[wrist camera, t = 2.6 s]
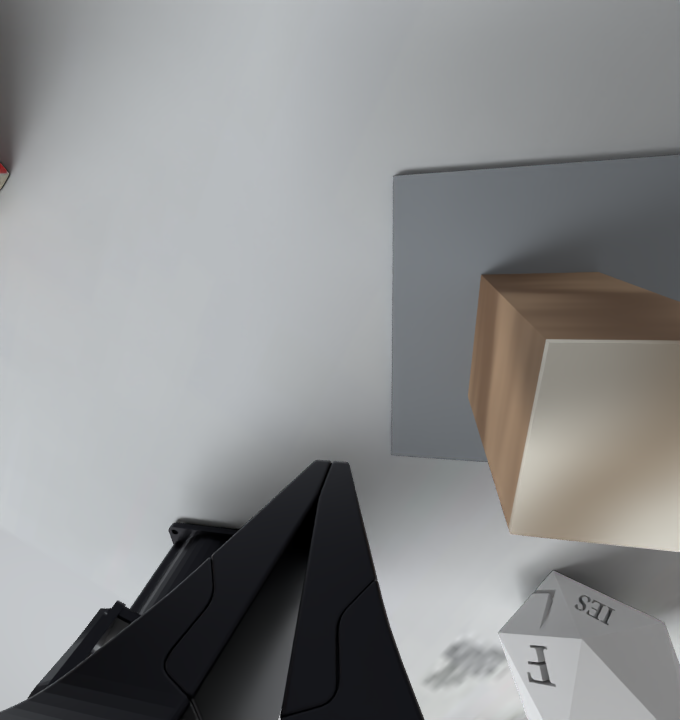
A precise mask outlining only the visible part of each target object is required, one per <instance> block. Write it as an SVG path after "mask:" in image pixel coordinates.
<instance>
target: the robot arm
mask: <svg viewBox="0 0 680 720" xmlns="http://www.w3.org/2000/svg"><path fill="white" fill-rule="evenodd" d="M169 533H170V536H171V539H172V541H173V544H174V545H173V546H172V548H171V549H170V551H169V552H168V554H167V555H166V557H165V558H164V560H163V561H162V563H161V564H160V565H159V567H158V568H157V570H156V571H155V573H154V574H153V576H152V577H151V579H150V580H149V582H148V583H147V584H146V586H145V587H144V589H143V590H142V592H141V593H140V595H139V596H138V598H137V599H136V601H135V602H134V604H133V605H132V606H131V608H130V609H129V608H127V607H125V604H124V603H122V602H120V601H117V602H116V603H115V604H114V606H113V607H112V608H110V609H100V610H99V611H98V613H97V614H96V615H95V617H94V618H93V619H92V621H91V622H90V623H89V624H88V626H87V627H86V628H85V630H84V631H83V632H82V634H81V635H80V636H79V637H78V639H77V640H76V641H75V642H74V644H73V645H72V646H71V647H70V648H69V649H68V650H67V652H66V653H65V654H64V655H63V656H62V657H61V658H60V660H59V661H58V662H57V663H56V664H55V665H54V666H53V668H52V669H51V670H50V671H49V672H48V673H47V675H46V676H45V677H44V678H43V679H42V680H41V681H40V683H39V684H38V685H37V686H36V687H35V688H34V690H33V691H32V692H31V694H30V696H29V697H28V699H27V700H25V701H23V702H21V703H19V704H17V705H15V706H13V707H10V708H8V709H6V710H3V711H1V712H0V720H278V718H279V715H280V718H281V720H424V717H423V715H422V712H421V709H420V707H419V704H418V702H417V699H416V696H415V694H414V691H413V688H412V686H411V683H410V681H409V678H408V675H407V673H406V670H405V668H404V665H403V662H402V659H401V657H400V654H399V651H398V648H397V645H396V642H395V639H394V637H393V634H392V631H391V628H390V624H389V621H388V617H387V614H386V610H385V607H384V603H383V599H382V595H381V591H380V587H379V583H378V581H377V575H376V571H375V567H374V563H373V559H372V555H371V551H370V547H369V543H368V539H367V535H366V531H365V527H364V523H363V519H362V514H361V510H360V506H359V502H358V498H357V494H356V490H355V486H354V482H353V478H352V474H351V470H350V466H349V463H348V462H339V461H334V462H331V461H326V460H316V461H314V462H313V463H312V464H311V465H310V466H309V467H307V468H306V469H305V470H304V471H303V472H302V473H301V474H300V475H299V476H298V477H297V478H295V479H294V480H293V481H292V482H291V483H290V484H289V485H288V486H287V487H286V488H285V489H283V490H282V491H281V492H280V493H279V494H278V495H277V496H276V497H275V498H274V499H273V500H271V501H270V502H269V503H268V504H267V505H266V506H265V507H264V508H263V509H262V510H261V511H259V512H258V513H257V514H256V515H255V516H254V517H253V518H252V519H251V520H250V521H249V522H247V523H246V524H245V525H244V526H243V527H242V528H241V529H240V530H233V529H225V528H217V527H208V526H200V525H192V524H184V523H173V524H172V525H171V527H170V528H169ZM281 708H282V709H281ZM280 711H281V714H280Z"/></svg>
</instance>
